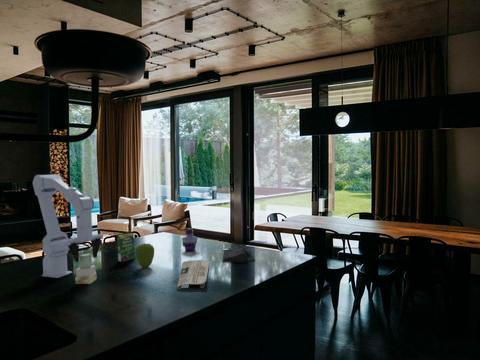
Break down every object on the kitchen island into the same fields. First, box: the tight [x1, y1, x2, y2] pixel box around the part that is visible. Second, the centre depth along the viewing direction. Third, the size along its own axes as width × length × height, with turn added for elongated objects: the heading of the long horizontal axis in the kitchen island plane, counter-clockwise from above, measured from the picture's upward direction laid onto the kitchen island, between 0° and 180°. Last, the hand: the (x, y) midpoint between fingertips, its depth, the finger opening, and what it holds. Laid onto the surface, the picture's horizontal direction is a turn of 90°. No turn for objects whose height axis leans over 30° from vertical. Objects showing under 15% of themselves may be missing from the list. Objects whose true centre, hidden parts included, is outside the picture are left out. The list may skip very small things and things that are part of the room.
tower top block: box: [75, 264, 97, 277], centre depth 150 cm, size 6×6×3 cm
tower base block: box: [74, 272, 98, 285], centre depth 149 cm, size 6×6×3 cm
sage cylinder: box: [78, 253, 92, 269], centre depth 149 cm, size 4×4×5 cm
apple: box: [135, 243, 155, 269], centre depth 166 cm, size 9×8×12 cm
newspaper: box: [176, 259, 210, 290], centre depth 153 cm, size 35×12×4 cm, turn 5°
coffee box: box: [116, 232, 136, 263], centre depth 180 cm, size 8×3×13 cm, turn 137°
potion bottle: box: [181, 227, 198, 253], centre depth 196 cm, size 9×9×12 cm
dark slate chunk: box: [222, 245, 255, 264], centre depth 182 cm, size 15×22×5 cm
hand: (85, 259), depth 149 cm, fingers open, 7 cm apart
